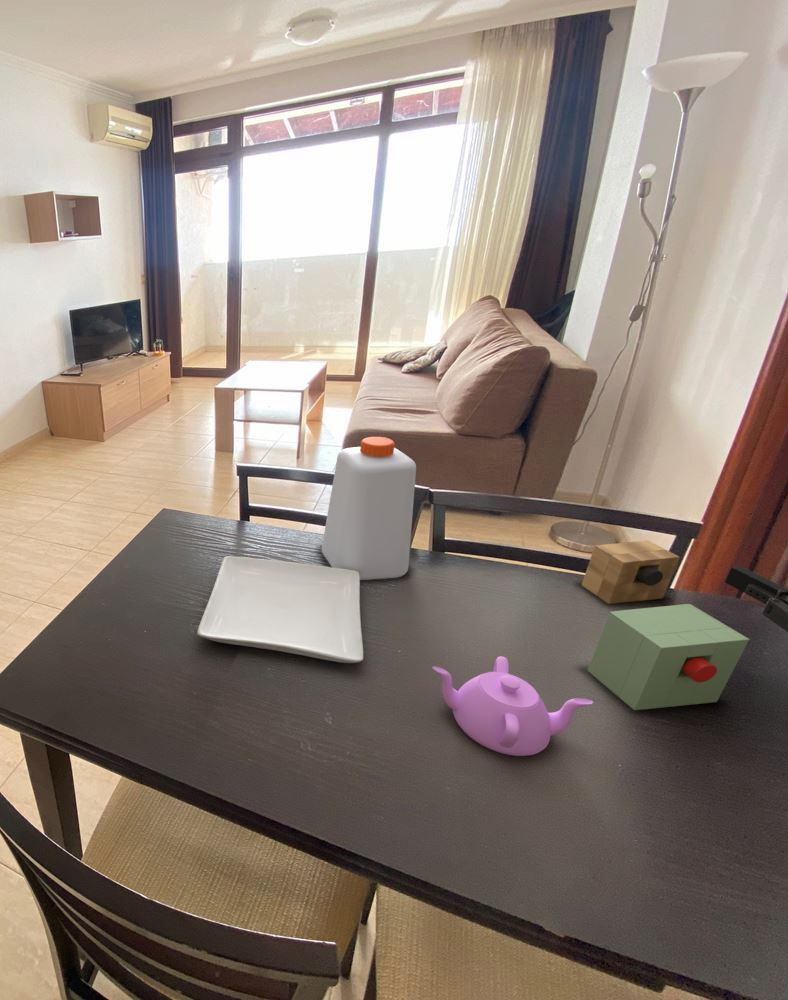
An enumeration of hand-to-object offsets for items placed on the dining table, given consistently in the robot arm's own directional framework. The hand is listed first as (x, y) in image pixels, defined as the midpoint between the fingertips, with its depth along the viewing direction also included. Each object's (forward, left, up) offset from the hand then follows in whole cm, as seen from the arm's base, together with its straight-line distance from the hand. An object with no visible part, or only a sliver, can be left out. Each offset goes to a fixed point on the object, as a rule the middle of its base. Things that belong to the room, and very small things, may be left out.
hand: (732, 574), depth 81 cm
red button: (+7, +18, -7) cm, 21 cm away
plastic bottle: (+51, -8, -14) cm, 54 cm away
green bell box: (+10, +14, -14) cm, 22 cm away
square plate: (+63, +16, -14) cm, 67 cm away
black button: (+5, -9, -9) cm, 14 cm away
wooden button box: (+7, -12, -14) cm, 20 cm away
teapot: (+30, +31, -14) cm, 45 cm away
